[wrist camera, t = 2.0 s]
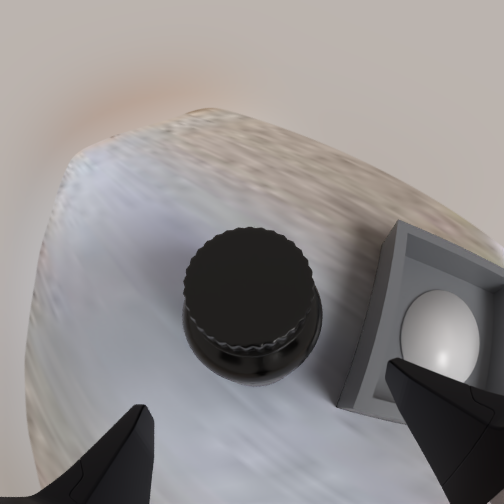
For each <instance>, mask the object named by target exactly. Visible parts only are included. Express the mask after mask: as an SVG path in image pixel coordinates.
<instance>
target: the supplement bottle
mask: <svg viewBox="0 0 504 504" xmlns="http://www.w3.org/2000/svg"><path fill="white" fill-rule="evenodd" d="M183 282H184V286H185V288H184V292H183V295H184V297H185V300H184V305H183V313H182V318H183V328H184V332H185V336H186V339H187V341H188V344H189V346H190V348H191V349H192V351H193V352H194V354H195V355H196V356H197V358H198V359H199V360H200V361H201V362H202V363H203V364H204V365H205V366H206V367H207V368H209V369H210V370H211V371H213V372H214V373H216V374H217V375H219V376H221V377H223V378H226V379H228V380H231V381H233V382H236V383H238V384H241V385H245V386H253V387H257V386H266V385H270V384H273V383H275V382H277V381H279V380H281V379H283V378H284V377H286V376H287V375H288V374H290V373H291V372H292V371H294V370H295V369H296V368H297V367H298V366H300V365H301V364H302V363H303V362H304V361H305V359H306V358H307V357H308V356H309V354H310V353H311V352H312V350H313V348H314V346H315V345H316V342H317V340H318V338H319V335H320V332H321V327H322V319H323V312H322V304H321V299H320V296H319V293H318V290H317V288H316V286H315V283H314V280H313V278H312V270H311V268H310V267H309V266H308V260H307V259H306V258H305V257H304V256H303V253H302V250H300V249H299V248H297V247H296V246H295V244H294V242H292V241H290V240H287V238H286V237H285V236H284V235H280V234H277V233H276V232H275V231H273V230H265V229H264V228H253V227H247V228H236V229H234V230H227V231H225V232H224V233H223V234H219V235H216V236H215V237H214V238H213V239H212V240H209V241H207V242H206V243H205V244H204V246H203V247H202V248H200V249H198V251H197V253H196V255H195V256H194V257H193V258H192V259H191V261H190V265H189V266H188V268H187V269H186V277H185V279H184V281H183Z"/></svg>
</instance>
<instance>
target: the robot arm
mask: <svg viewBox="0 0 504 504" xmlns="http://www.w3.org/2000/svg"><path fill="white" fill-rule="evenodd" d="M385 380H386V383H387V385H388V387H389V390H390V392H391V394H392V396H393V399H394V401H395V403H396V406H397V408H398V410H399V412H400V414H401V415H402V417H403V419H404V421H405V422H406V424H407V426H408V427H409V429H410V431H411V433H412V434H413V436H414V438H415V439H416V441H417V443H418V445H419V446H420V448H421V450H422V452H423V454H424V455H425V457H426V459H427V461H428V463H429V464H430V466H431V468H432V470H433V472H434V474H435V475H436V477H437V479H438V481H439V483H440V485H441V486H442V489H443V491H444V493H445V495H446V496H447V498H448V500H449V502H450V504H487V503H488V502H490V503H491V504H504V395H500V394H496V393H492V392H489V391H485V390H482V389H479V388H476V387H474V386H471V385H470V386H469V385H468V384H465V383H463V382H460V381H457V380H455V379H452V378H449V377H447V376H444V375H441V374H439V373H436V372H434V371H431V370H429V369H426V368H424V367H421V366H419V365H416V364H414V363H411V362H409V361H406V360H404V359H401V358H398V357H396V358H393V359H391V360H389V361H388V362H387V367H386V373H385ZM153 463H154V419H153V417H152V415H151V413H150V412H149V410H148V408H147V406H146V405H144V404H136V405H134V406H133V407H132V408H131V409H130V410H129V411H128V412H127V413H126V414H125V415H124V416H123V417H122V418H121V419H120V420H119V421H118V422H117V423H116V424H115V425H114V426H113V427H112V428H111V429H110V430H109V431H108V432H107V433H106V434H105V435H104V436H103V437H102V438H101V439H100V440H99V441H98V442H97V443H96V444H94V445H93V446H92V447H91V448H90V449H89V450H88V451H87V452H86V453H85V454H84V455H83V456H82V457H81V458H80V459H79V460H78V461H77V462H76V463H75V464H74V465H73V466H72V467H71V468H69V469H68V470H67V471H66V472H65V473H64V474H62V475H61V476H60V477H59V478H57V479H56V480H55V481H53V482H52V483H51V484H49V485H48V486H47V487H45V488H44V489H42V490H41V491H40V492H38V493H37V494H35V495H32V496H28V497H0V504H149V501H150V490H151V480H152V471H153Z"/></svg>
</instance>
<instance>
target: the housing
mask: <svg viewBox="0 0 504 504" xmlns="http://www.w3.org/2000/svg"><path fill="white" fill-rule="evenodd" d="M396 357H398V358H401V359H404V360H406V361H409V362H411V363H414V364H416V365H419V366H421V367H424V368H426V369H429V370H431V371H434V372H436V373H439V374H441V375H444V376H447V377H449V378H452V379H455V380H457V381H460V382H463V383H465V384H468V385H469V386H470V385H471V386H474V387H476V388H479V389H482V390H485V391H489V392H492V393H496V394H500V395H504V269H503V268H501V267H500V266H498V265H496V264H494V263H492V262H490V261H488V260H486V259H484V258H482V257H480V256H478V255H476V254H474V253H472V252H470V251H468V250H466V249H464V248H462V247H460V246H458V245H456V244H453V243H451V242H449V241H447V240H445V239H443V238H440V237H438V236H436V235H434V234H431V233H429V232H427V231H425V230H422V229H420V228H417V227H415V226H413V225H410V224H408V223H406V222H403V221H401V220H397V222H396V224H395V225H394V227H393V228H392V230H391V232H390V233H389V235H388V236H387V238H386V239H385V241H384V242H383V244H382V248H381V253H380V258H379V263H378V268H377V273H376V278H375V282H374V287H373V291H372V295H371V299H370V303H369V307H368V311H367V315H366V318H365V322H364V326H363V329H362V333H361V336H360V340H359V343H358V346H357V349H356V353H355V356H354V359H353V362H352V365H351V368H350V371H349V374H348V377H347V380H346V382H345V385H344V388H343V391H342V393H341V396H340V399H339V401H338V404H337V406H336V407H337V408H340V409H343V410H347V411H351V412H354V413H358V414H362V415H366V416H370V417H374V418H378V419H382V420H386V421H391V422H395V423H400V424H405V425H407V424H406V422H405V421H404V419H403V417H402V415H401V414H400V412H399V410H398V408H397V406H396V403H395V401H394V399H393V396H392V394H391V392H390V390H389V387H388V385H387V383H386V380H385V373H386V367H387V362H388V361H389V360H391V359H393V358H396Z"/></svg>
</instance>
